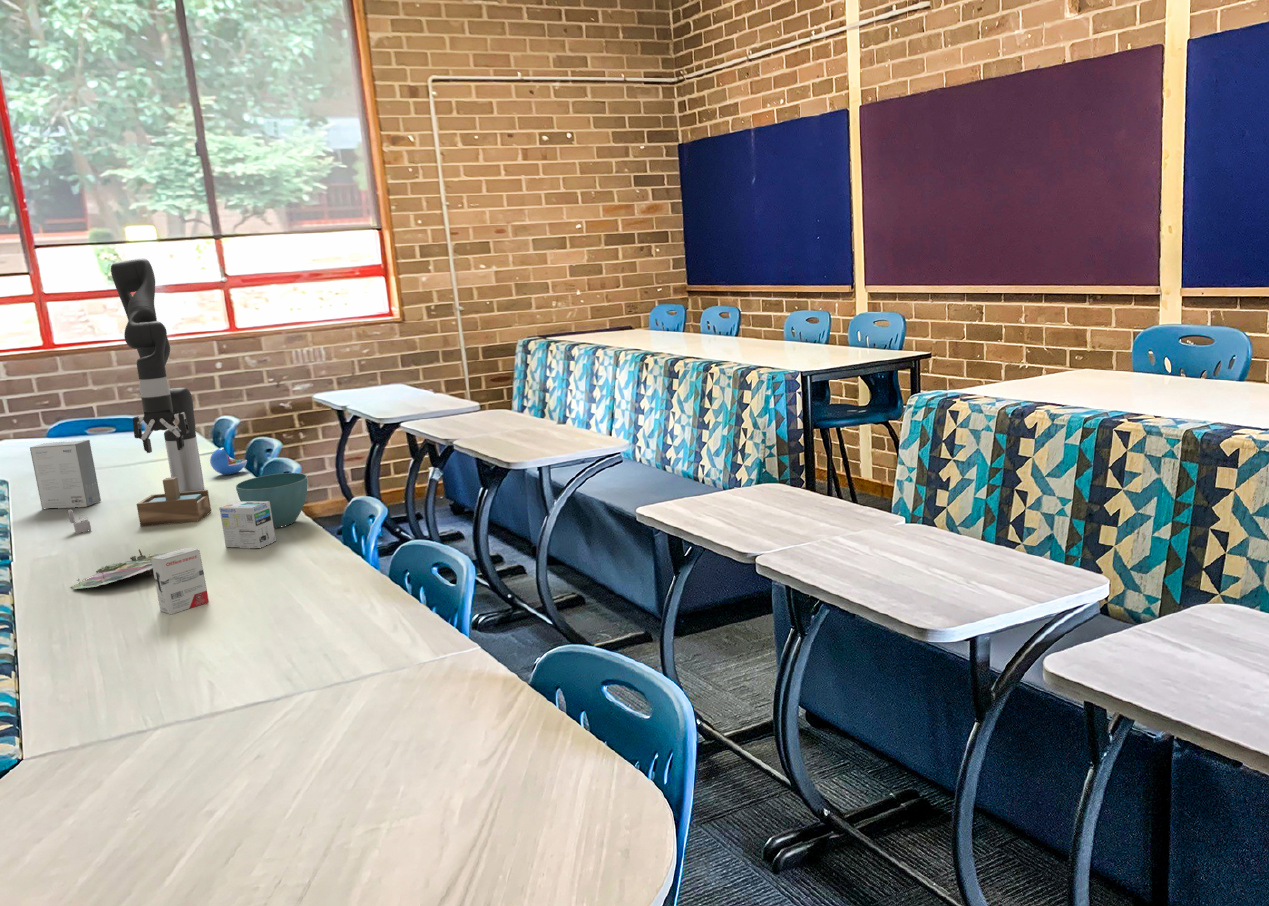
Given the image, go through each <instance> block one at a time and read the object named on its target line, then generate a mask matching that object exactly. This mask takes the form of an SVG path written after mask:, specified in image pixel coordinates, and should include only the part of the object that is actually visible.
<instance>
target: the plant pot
mask: <svg viewBox="0 0 1269 906" xmlns="http://www.w3.org/2000/svg"><path fill="white" fill-rule="evenodd" d="M235 488H236V489H235V490H236V493H237V496H238V498H239V502H250V501H254V502H267V501H269V502H270V507H271V513H272V520H273V526H274V529H277V528H276V527H281V526H285V525H288V524H291V525H293V524H294V523H296V521H297V519H298V517H300V516H299V515H300V514H301V512H302V510H303V508H304V506H305V502H306V500H307V493H308V476H307V474H306V473H305V474H304V473H301V472H284V473H272V474H267V475H262V476H258V477H253V478H252V477H251V478H249V479H247V480H242V481H241V482H238V483H237V484H236V485H235ZM293 522H294V523H293ZM292 523H293V524H292ZM285 527H286V526H285ZM281 528H282V527H281Z"/></svg>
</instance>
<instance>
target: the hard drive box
mask: <svg viewBox="0 0 1269 906" xmlns="http://www.w3.org/2000/svg"><path fill="white" fill-rule="evenodd" d="M29 449H30V450H29V451H30V455H31V460H32V465H33V471H34V475H35V481H36V486H37V490H38V495H39V501H40V505H41V510H45V509H44V508H58V509H72V508H73V509H75V507H78V508H86V507H89V506H92V505H94V504H96V503H99V502H101V501H102V499H101V493H100V487H99V484H98V483H99V482H98V479H97V472H96V467H95V463H94V462H95V461H94V457H93V451H92V447H91V441H90V439H82V440H81V439H80V440H68V441H67V440H65V441H55V442H54V441H53V442H44V443H41V444H37V445H33V446H30V447H29Z"/></svg>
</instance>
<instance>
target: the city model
mask: <svg viewBox="0 0 1269 906" xmlns="http://www.w3.org/2000/svg"><path fill="white" fill-rule="evenodd" d="M138 552H139V555H138V556H136V555H133V556H131V557H129V558H130V560H129V561H124V562H122V563H121V562H119V563H113V564H110V565H105V566H104V567H101V568H99V569H97V570H96V571H95V574H92V576H93V577H91V576H90V577H91V578H89V577H88V578H89V579H87V578H86V579H87V580H86V579H85V578H83V579H82V582H81V581H80V578H79V577H77V578H78V579H77V580H76V581H78V582H77V583H78V584H77V583H76V584H74V585H73V586H74V587H72V586H71V587H72V588H71V589H72V590H77V589H86V588H87V589H89V588H94V587H95V588H96V587H99V586H101V585H107V584H109V583H110V584H111V583H113V582H117V581H119V580H123V579H126V578H130V577H132V576H135V575H137V574H142V573H143V574H145V575H146V577H149V576H154V573H153V567H152V561H151V558H152V557H156V556H159V555H163V554H167V553H168V552H163V553H156V554H153V555H151V554H149V555H147V556H146V554H145V555H143V552H142V551H141V549H138ZM97 572H99V573H97ZM84 580H85V581H84Z"/></svg>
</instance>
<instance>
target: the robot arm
mask: <svg viewBox="0 0 1269 906" xmlns="http://www.w3.org/2000/svg"><path fill="white" fill-rule="evenodd" d="M154 273H155V272H154V269H153V266H152V264H151V263H150V261H149V260H148V259H146V258H143V257H142V258H141V257H140V258H133V259H127V260H123V261H122V260H121V261H118V262H114V263H112V264H111V266H110V274H111V278H112V280H113V284H114V285H115V286H114V287H115V289H116V292H117V293H118V296H119V299H120V302H121V305H122V307H123V309H124V312H125V314H126V317H127V324H126V325H125V328H124V334H123V335H124V341H125V343H126V344H127V346H128V347H130V348H131V349H134V350H135V349H136V351H137V354H138V356H139V358H138V359H137V360H136V369H137V374H138V379H139V380H138V382H139V384H138V386H139V396H140V398H141V404H142V410H143V416H140V415H137V416H136V415H135V416H134V417H132V427H133V428H132V429H133V437H134V438H135V439H140V440H142V444H143V446H142V447H143V450H144V452H146V453H147V454H150V453H153V448H152V443H151V438H150V436H151V435H152V433H153V432H154V431H155V432H157V431H164V432H163V437H164V443H165V450H166V454H167V455H166V456H167V461H168V466H169V467H168V468H169V473H170V478H172V477H177V479H178V485H179V491H180V492H189V491H200V490H203V489H204V490H206V488H205V483H204V477H203V471H202V465H201V464H202V463H201V457H200V452H199V451H200V450H199V445H198V440H197V431H196V419H195V410H194V401H193V395H192V393H191V391H190V390H189V389H188V387H187V388H186V387H173V388H172V387H171V388H170V384H169V381H168V377H167V371H166V364H167V362H168V360H169V357H170V353H171V345H170V342H169V338H168V335H167V334H168V333H167V329H166V326H165V325H164V324H163V322H161V321H158V320H157V319H158V318H157V313H156V308H155V298H156V297H155V295H156V277H155V274H154ZM134 292H135V293H134ZM132 293H134V294H133V295H132ZM175 420H176V421H178V423H177V424H176V423H175ZM143 423H145V424H146V425H147V426H146V428H145V429H144V432H143V430H142V424H143Z"/></svg>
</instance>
